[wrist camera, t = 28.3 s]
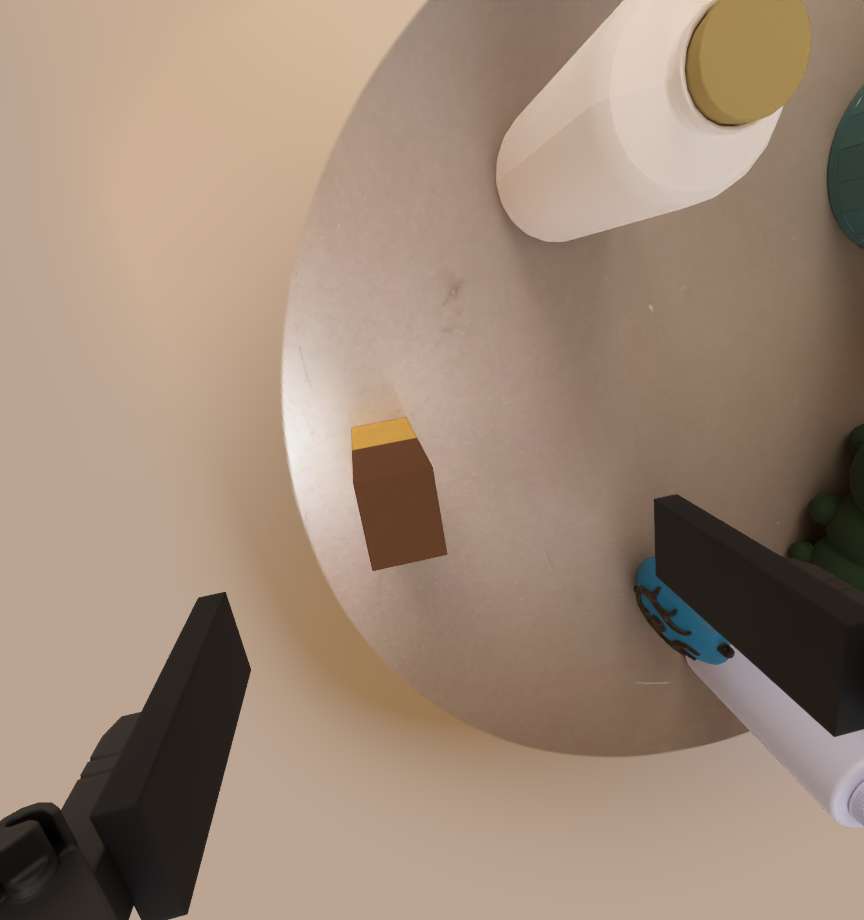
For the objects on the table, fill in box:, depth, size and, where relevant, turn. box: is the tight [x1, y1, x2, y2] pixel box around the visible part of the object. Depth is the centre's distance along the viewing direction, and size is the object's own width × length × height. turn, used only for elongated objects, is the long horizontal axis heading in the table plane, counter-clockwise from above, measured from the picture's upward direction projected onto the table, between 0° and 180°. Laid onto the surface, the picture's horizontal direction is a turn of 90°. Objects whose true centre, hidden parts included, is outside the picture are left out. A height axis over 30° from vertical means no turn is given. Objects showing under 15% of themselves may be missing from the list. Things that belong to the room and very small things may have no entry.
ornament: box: [634, 557, 735, 665], centre depth 40 cm, size 8×5×10 cm, turn 27°
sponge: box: [351, 417, 447, 571], centre depth 32 cm, size 4×5×12 cm
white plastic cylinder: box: [496, 0, 811, 242], centre depth 26 cm, size 8×8×18 cm
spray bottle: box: [685, 644, 864, 828], centre depth 37 cm, size 6×6×22 cm
